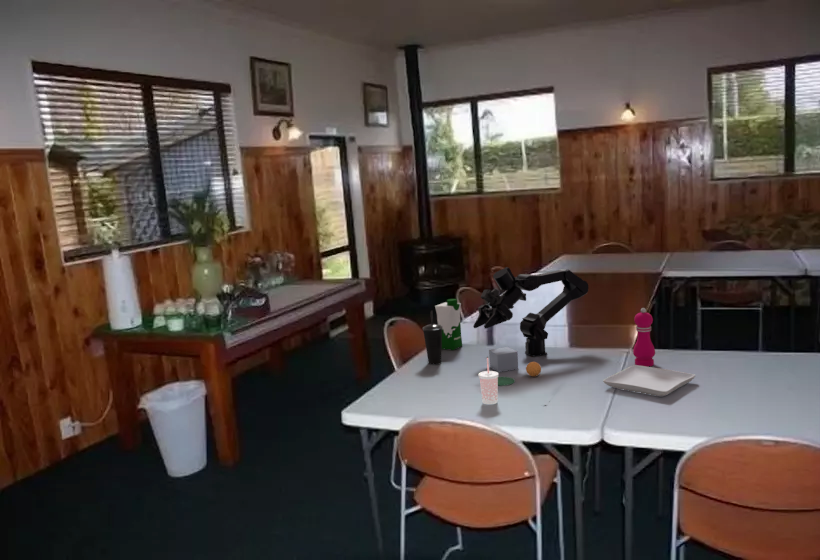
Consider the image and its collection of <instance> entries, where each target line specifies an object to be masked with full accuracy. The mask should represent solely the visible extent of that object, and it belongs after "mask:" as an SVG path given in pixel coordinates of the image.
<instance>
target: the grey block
mask: <svg viewBox="0 0 820 560" xmlns="http://www.w3.org/2000/svg"><path fill="white" fill-rule="evenodd" d="M518 357H519V355H518V351H517V350H515V349H513V348H511V347H509V346H505V347H500V348H492V349H488V361H489V368H491V369H493V370H494V371H495V372H498V373H502V371H503V372H508V370H509V371H514V369H515V370H519V358H518Z"/></svg>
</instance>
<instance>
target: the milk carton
mask: <svg viewBox="0 0 820 560" xmlns="http://www.w3.org/2000/svg"><path fill="white" fill-rule="evenodd" d="M461 305H462V303H461V302H458V299H457V298H448V299H446V301H445V302H441V303H440V304H437V305H434V307H435V312H436V320H437V325H440V326H442V327H443V329H442V350H447V349H451V350H450V351H455V350H457V349H459V348H461V347H463V338H462V327H461ZM460 346H461V347H460ZM458 347H459V348H458ZM456 348H457V349H456ZM454 349H455V350H454Z"/></svg>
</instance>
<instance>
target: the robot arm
mask: <svg viewBox="0 0 820 560" xmlns="http://www.w3.org/2000/svg"><path fill="white" fill-rule="evenodd" d="M492 278H493V279H494V281H495V283H496V284H497V286H498V287H499V289H500V290H501V291H503V293H502V294H500V291H499V290H498V289H497V288H493V289H483V292H482V293H481V296H480V298H481V299H482V300H484V301H486V302H488V304H481V305H479V306H478V308H477V311H478V317H477V318H476V321H475V322H474V324H473V326H472V327H473V328H474V329H478V328H479V327H481V326H483V328H485V329H488V328H491V327H494V326H497V325H499V324H503V323H505V322H507V321H510V320H511V319H512V318H513V316H514V313H513V312H512V310H513V309H514V308H515V306H514V305H515V304H516V303H517V302H519V301H524V302H525V301H527V293H525V292H523V291H526V292H532V291H534V290H536V289H539V288H540V287H541V286H543V285H547V284H553V283H556V282H561V283H562V286H563V288H562V292H561V293H559V294H558V295H557V296H555V298H553V300H551V301H550V302H549V303H548V304H547V305H545V306H544V307H543V308H542V309H541V310H540V311H538V312H537V313H533V312H529V313H527V315H525V316H524V317H522V320H521V321H520V322H519V330H520V332H521V333H522V335H523V337H524V338H525V339H526V341H525V343H524V344H525V345H524V346H525V351H524V353H525V354H527V355H528V356H530V357H537V356H544V355H548V352H547V351H546V340H547V339H548V336H549V332H547V331H546V330H545V329H546V325H547V323H548V322H549V321H550V320H551V319H553V318H554V317H555V316H556V315H557V314H558V313H560V311H561V310H563V308H565V307H566V306H567V305H569V304H570V302H571V301H574V300H578V299H580V298H582V297H584V296H585V295H587V294H588V293H589V283H588V282H587V281H586V280H584V279H583V278H582V277H579V276H578V275H577V274H575V273H574V272H572V271H571V270H570V269H566V268H560V269H558V270H553V271H548V272H543V273H537V274H528V273H526V274H525V273H522V274H521V273H520V274H517V276H515V275H514V274H513V272H512V270H511V268H510V267H508V266H505V267H504V268H503V269H500V270H498V271H496V272H494V274H493V277H492Z"/></svg>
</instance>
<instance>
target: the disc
mask: <svg viewBox="0 0 820 560" xmlns="http://www.w3.org/2000/svg"><path fill="white" fill-rule="evenodd" d="M515 382H516V381H515V378H513V377H509V376H498V387H499V386H500V387H502V386H509V385H512V384H514V383H515Z"/></svg>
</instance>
